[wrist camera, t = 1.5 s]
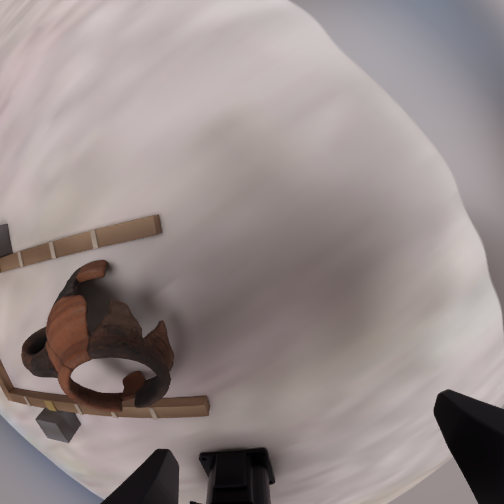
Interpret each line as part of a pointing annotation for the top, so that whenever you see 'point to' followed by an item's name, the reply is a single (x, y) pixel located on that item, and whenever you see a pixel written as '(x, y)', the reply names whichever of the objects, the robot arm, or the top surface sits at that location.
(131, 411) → the wooden u-shaped frame
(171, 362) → the brown broken pot
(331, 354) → the top surface
